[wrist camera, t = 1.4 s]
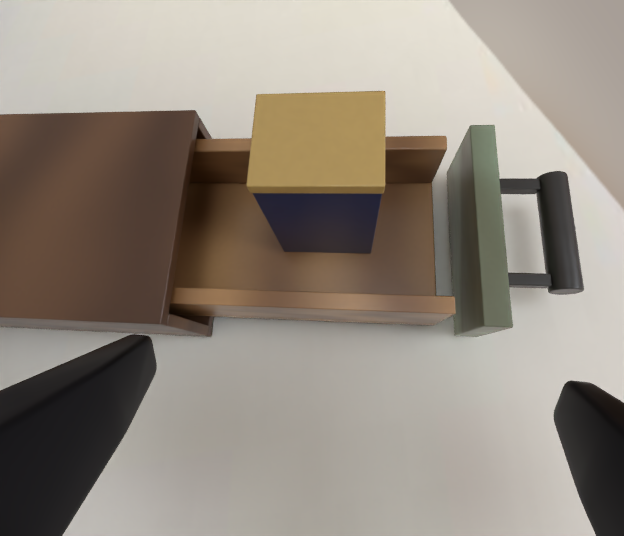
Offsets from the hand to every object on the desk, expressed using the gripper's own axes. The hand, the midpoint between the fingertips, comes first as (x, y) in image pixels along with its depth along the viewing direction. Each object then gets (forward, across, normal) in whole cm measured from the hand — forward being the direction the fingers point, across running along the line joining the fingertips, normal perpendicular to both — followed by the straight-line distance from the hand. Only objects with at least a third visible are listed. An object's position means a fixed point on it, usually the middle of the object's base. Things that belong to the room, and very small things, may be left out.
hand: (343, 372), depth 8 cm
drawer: (+14, +1, +2) cm, 14 cm away
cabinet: (+14, +18, +4) cm, 23 cm away
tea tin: (+14, +2, +1) cm, 14 cm away
